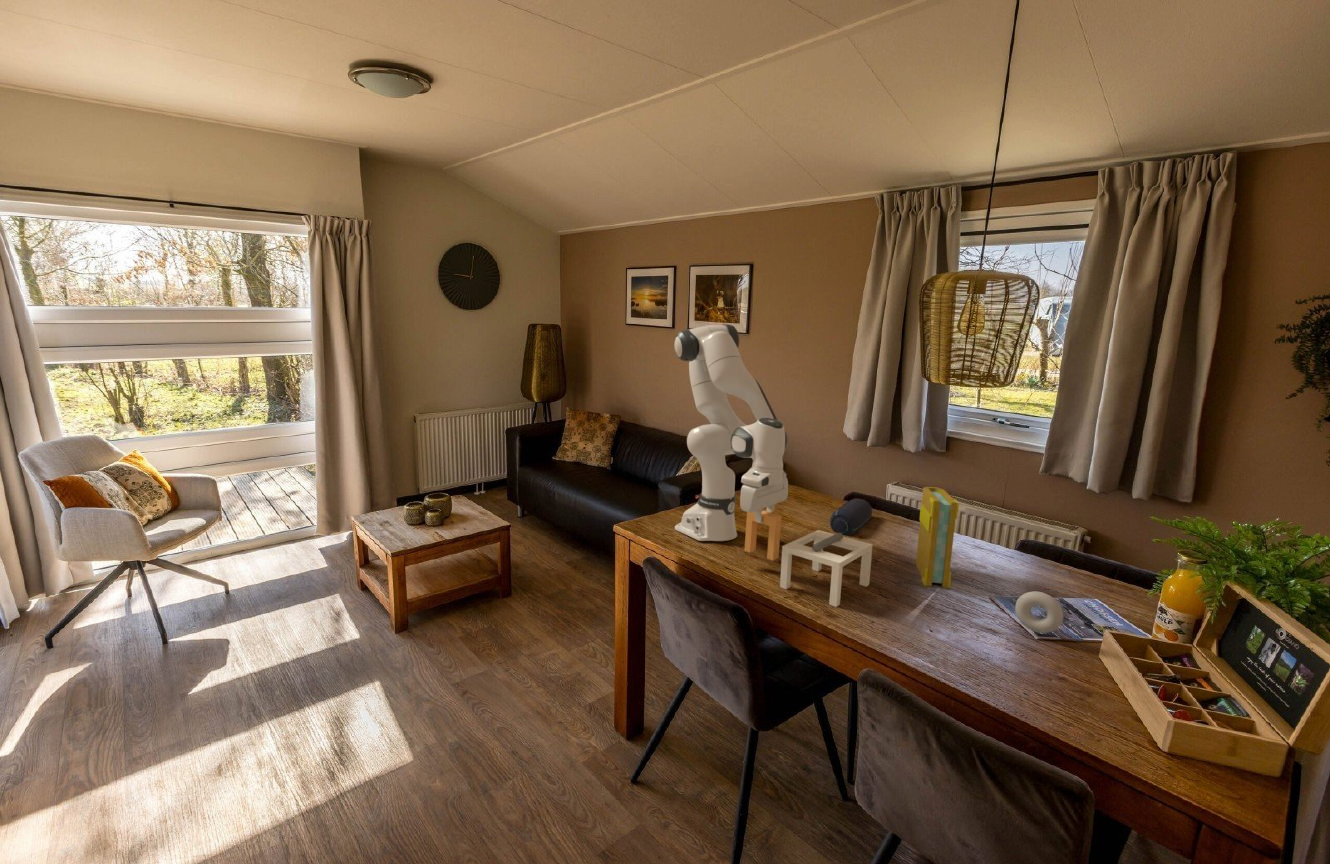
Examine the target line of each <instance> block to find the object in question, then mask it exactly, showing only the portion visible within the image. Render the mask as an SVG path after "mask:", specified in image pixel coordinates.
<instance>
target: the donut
mask: <svg viewBox="0 0 1330 864" xmlns="http://www.w3.org/2000/svg"><path fill="white" fill-rule="evenodd" d="M1036 606H1037V607H1040V608H1041V607H1042V609H1044V610H1045V612H1046V615H1045V617H1044V618H1039V617H1036V616H1035V615H1034V614H1033V612H1032V608H1033V607H1036ZM1014 608H1015V610H1014V611H1015V614H1016V616H1017V619H1018V620H1019V622H1020V623H1021V625H1023V626H1024V627H1025V628H1027V629H1028V630H1030V631H1033V632H1036V633H1041V634H1046V633H1047V634H1048V633H1052V632H1055V631H1057V630H1058V629H1059V628H1060V627H1061V626H1062V625H1063V622H1064V621H1063V620H1064V611H1063V608H1062V606H1061V604H1060V603H1059V602H1058V601H1057V600H1056V598H1054V597H1053V596H1051V595H1049V594H1047V593H1045V592H1043V591H1042V592H1041V591H1038V590H1037V591H1036V590H1035V591H1034V590H1033V591H1028V592H1025V593H1023V594H1022V595H1020V596H1019V598H1018V599H1016V603H1015V606H1014Z"/></svg>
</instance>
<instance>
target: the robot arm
mask: <svg viewBox="0 0 1330 864" xmlns="http://www.w3.org/2000/svg"><path fill="white" fill-rule="evenodd" d="M673 346H674V350H675V353H676V356H677V358H678V359H680V360H681V361H682V362H688V369H689V370H688V372H689V373H688V374H689V381H690V387H691V391H692V396H693V400H694V404H695V407H696V410H697V412H698V413H700V414H701V415H703V416H704V417H705V418H706V419H707V420H708V421H709V423H710V424H702V425H699V426H697V427H695V428H694V427H693V428H692V429H691V430H690V431H689V432H688V434H687V437H686V444H687V445H686V446H687V449H688V451H689V452H690V454H691V455H692V456H694V457H695V458H696V459H697V461H698V464H699V465H700V470H701V475H702V476H701V477H702V479H701V480H702V481H701V486H702V487H701V493H699V494H696V495H695V499H696V500H697V502H696V504H694V505H692V506H691V507H690V508H689V507H688V509H686V510H685V511H684V512H683V514H682V516H681V521H680V522H679V523H676V524H675V526H674V530H675V531H677V532H679V533H682V534H683V535H686V536H689V537H690V538H693V539H695V540H696V541H700V542H705V541H706V542H711V541H712V542H713V541H714V542H724V541H727V542H728V541H731V540H734V539H736V538H737V537H738V533H737V532H738V531H737V528H736V520H735V510H736V495H735V487H736V486H735V485H736V474H735V472H734V470H733V469H732V468H730V467H729V466H728V465H727V463H726V462H727V461H726V456H729V455H736V457H739V458H743V459H747V458H751V459H752V465H751V467H750V468H749V469H748V471H746V473H744V474H743V475H742V476H741V480H740V482H741V484H742V486H741V488H740V500H739V501H740V502H739V503H740V504H739V506H740V509H741V511H744V512H746V513H747V512H750V513H752V512H754V513H755V515H756V522H759V523H758V524H761V523H760V522H763V519H764V516H762V513H761V512H762V510H763V509H765V508H766V510H765V511H767V512H771V513H774V510H775V508H776V504H779V503H781V502H784V501H787V499H788V496H789V481H788V478H787V473H786V472H785V471H784V461H783V458H784V453H785V450H786V448H787V445H788V435H787V432H786V429H785V426H784V424H783V423H782V422H781V421H780V420H778V417H777V416H776V415H775V412H774V411H773V408H772V406H771V404H770V402H769V400H768V398H767V396H766V394H765V392H764V390H763V388H762V386H761V385H760V383H759V382H758V381H757V380H756V379H755V378H754V377H753V375H752V374H751V373H750V372H749V371H748V369H747V367H746V366H745V364H744V362H743V359H742V355H741V353H740V351H739V347H740V335H739V332H738V330H737V328H736V327H735V326H734V325H733V324H728V323H722V324H709V325H708V324H706V325H703V326H698V327H695V328H694V327H693V328H690V329H689V328H686V329H683V330H680V331H679V332H677V334H676V335H675V337H674V345H673ZM728 395H732V396H734V397H736V398H739V399H740V400H742V401H744V402H745V403H747V405H748V406H749V408H750V411H751V412H752V414H753V416H754V417H755V418H754V419H755V420H756V422H754V423H751V424H746V423H745V422H743V421H742V420H741V419H740V418H739V417H738V416H737V413H735V411H734V410H733V408H732V406H731V404H730V401H729V399H728Z"/></svg>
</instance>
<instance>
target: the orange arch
mask: <svg viewBox="0 0 1330 864" xmlns="http://www.w3.org/2000/svg"><path fill="white" fill-rule="evenodd" d="M761 513H762V516H764V519H763V522H760V523H759V522H756V515H755V513H754V512H752V513H750V512H746V521H745V524H746V525H745V535H744V536H745V539H744V552H747V553H752V552H755V551H756V549H757V535H758V524H761V525H765V526H768V537H767V538H768V539H767V554H766V559H767V560H770V561H775V560H777V559H778V558H779V557H780V556H779V555H780V554H779V552H780V543H781V527H782V517H783V516H782V515H781V514H778V513H775V512H772V513H771V512H767V511H766V510H762V512H761Z"/></svg>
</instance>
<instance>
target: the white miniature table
mask: <svg viewBox="0 0 1330 864" xmlns="http://www.w3.org/2000/svg"><path fill="white" fill-rule="evenodd" d="M812 541H813V545H812V546H811V547H810V546H807V545H806V544H809V543H810V542H812ZM829 546H835V547H838V548H842V549H846V550H848V551H851V552H849V553H847V554H845V555H843V556H842V555H839V554H835V553H832V552H828V551H824V549H825V548H827V547H829ZM873 546H874V545H873V543H868V542H865V541H861V540H857V539H853V538H849V537H845V536H844V535H843V534H842V533H831V532H827V531H823V530H820V529H817V530H815V531H812V532H810V533H808V534H806V535H804V536H802V537H799V538H798V539H795V540H793V541H790V542H788V543H786V544H784V545H782V546H781V547H782V548H781V564H780V579H779V581H780V582H779V588H782V589H784V590H787V589H789V588H791V578H792V577H791V576H792V561H793V560H792V559H793V556H796V557H800V558H802V559H806V560H810V561H811V562H812V566H811V569H812V570H813V571H815V572H819V571H821V570H822V566H823V565H826V566H829V567H831V574H830V575H831V578H830V590H829V591H830V592H829V602H828V603H829V604H828V605H830V606H833V607H834V608H835V607H838V606H840V605H841V593H842V581H843V569H844V567H845V566H846V565H849V564H850V563H852V562H853V561H854V560H857V559H858V558H860V557H861V558H860V559H861V561H860V574H859V585H860V586H862V587H868V586H869V585H870V579H871V578H870V577H871V570H872V569H871V567H872V555H873Z"/></svg>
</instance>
